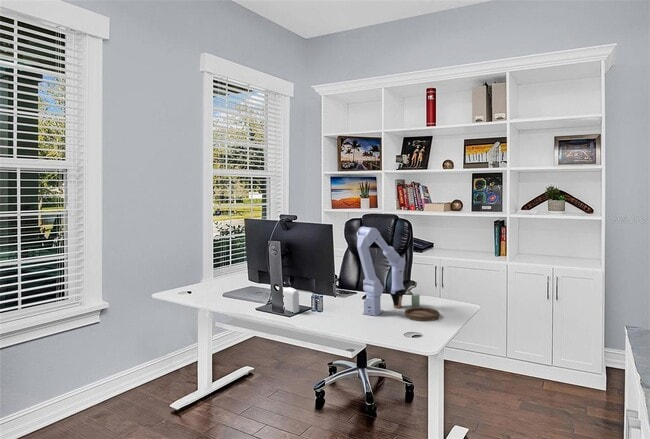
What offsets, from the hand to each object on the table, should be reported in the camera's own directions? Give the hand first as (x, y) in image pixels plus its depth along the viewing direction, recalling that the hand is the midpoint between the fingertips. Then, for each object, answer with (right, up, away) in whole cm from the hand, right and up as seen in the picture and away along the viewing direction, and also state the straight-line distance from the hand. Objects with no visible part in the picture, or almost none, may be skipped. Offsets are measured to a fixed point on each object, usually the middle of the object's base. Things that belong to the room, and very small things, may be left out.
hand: (397, 304), depth 243 cm
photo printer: (-56, -3, -3) cm, 56 cm away
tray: (+9, -3, -16) cm, 19 cm away
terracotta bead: (0, -2, 0) cm, 2 cm away
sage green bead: (+10, -1, +2) cm, 10 cm away
